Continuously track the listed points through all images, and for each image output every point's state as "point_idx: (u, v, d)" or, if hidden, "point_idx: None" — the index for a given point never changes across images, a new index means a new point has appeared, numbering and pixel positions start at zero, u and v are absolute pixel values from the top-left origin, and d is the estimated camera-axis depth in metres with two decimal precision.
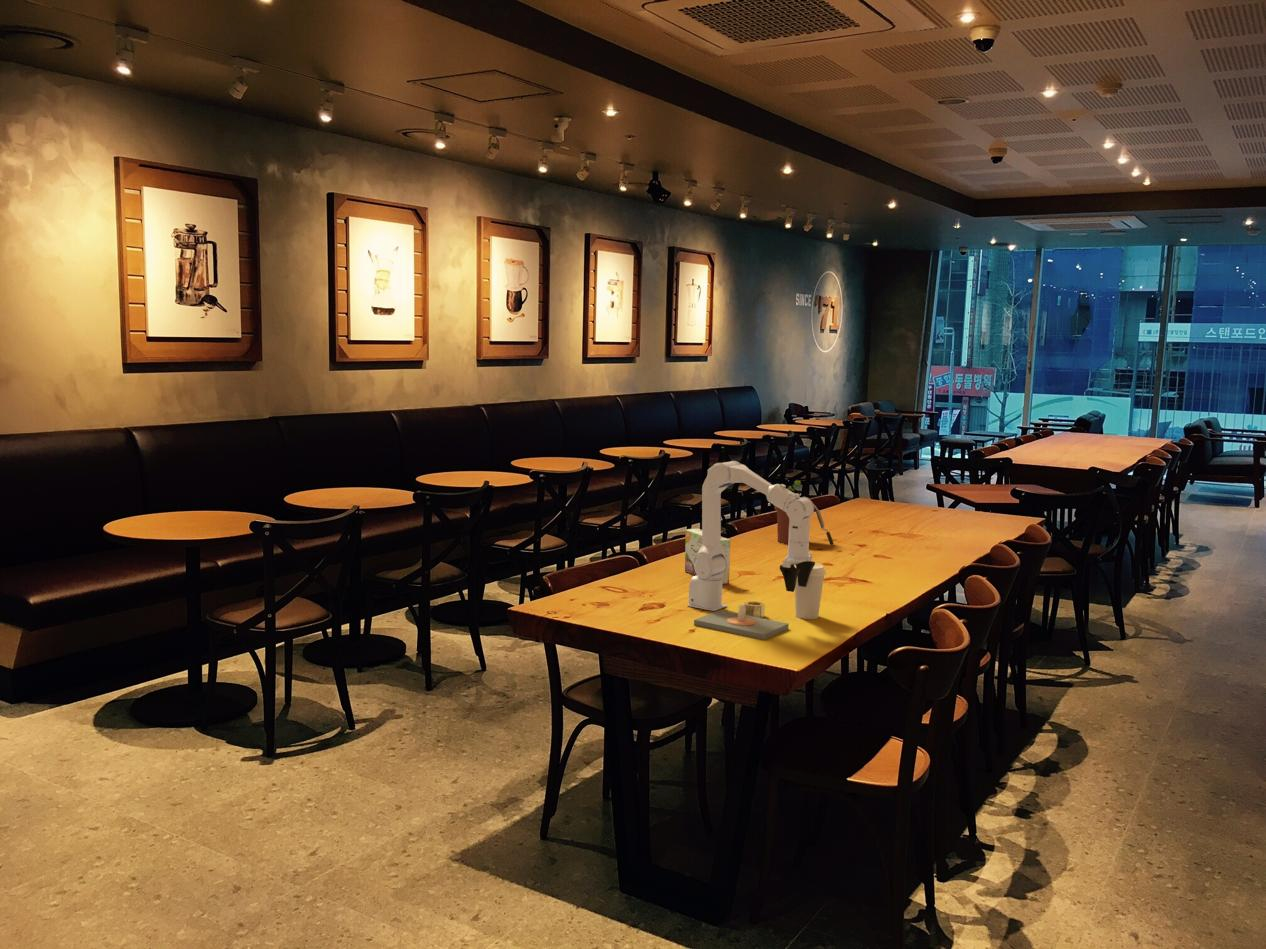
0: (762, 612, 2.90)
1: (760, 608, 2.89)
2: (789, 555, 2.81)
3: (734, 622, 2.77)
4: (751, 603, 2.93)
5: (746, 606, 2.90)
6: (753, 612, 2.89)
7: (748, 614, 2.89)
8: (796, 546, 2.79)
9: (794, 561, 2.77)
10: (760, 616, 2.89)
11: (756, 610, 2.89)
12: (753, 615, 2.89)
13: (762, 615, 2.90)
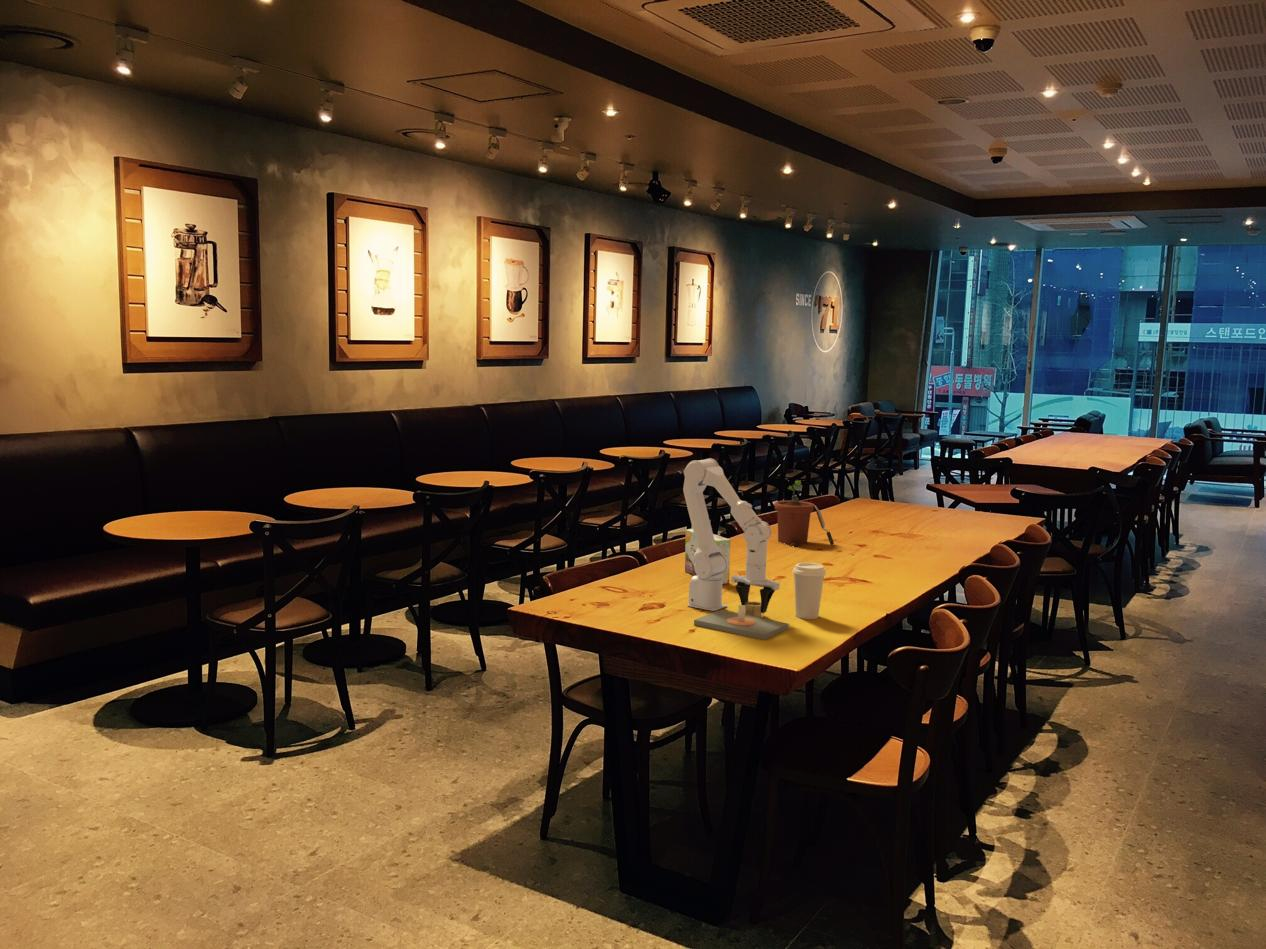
0: None
1: (760, 608, 2.89)
2: None
3: (734, 622, 2.77)
4: (751, 603, 2.93)
5: (746, 606, 2.90)
6: (753, 612, 2.89)
7: (748, 614, 2.89)
8: None
9: (737, 578, 2.92)
10: (760, 616, 2.89)
11: (756, 610, 2.89)
12: (753, 615, 2.89)
13: (762, 615, 2.90)
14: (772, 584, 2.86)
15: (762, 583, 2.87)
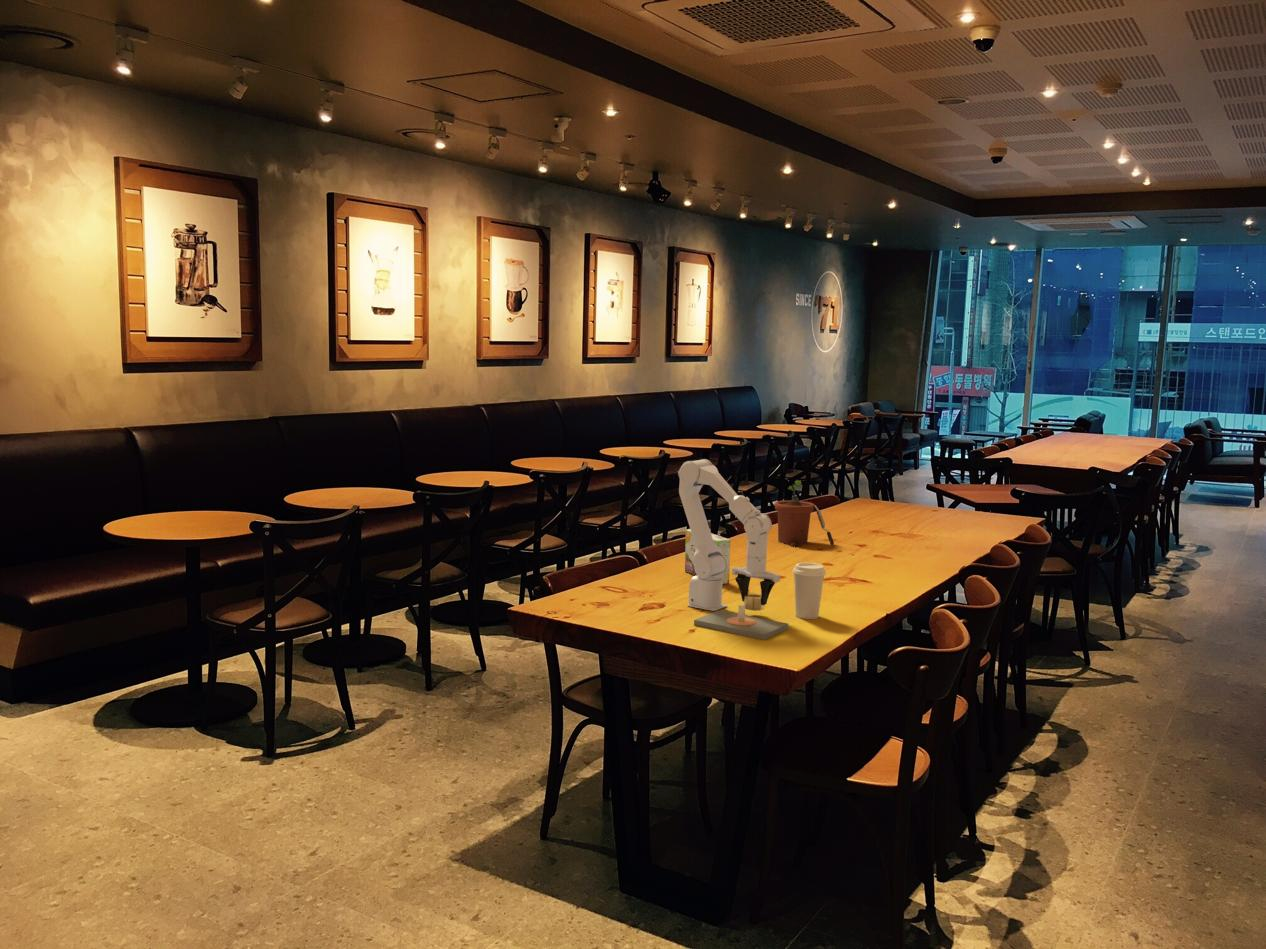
0: None
1: (760, 600, 2.88)
2: None
3: (734, 622, 2.77)
4: (751, 595, 2.93)
5: (746, 598, 2.90)
6: (753, 604, 2.88)
7: (748, 606, 2.89)
8: None
9: (738, 570, 2.92)
10: (760, 608, 2.89)
11: (756, 602, 2.88)
12: (753, 607, 2.88)
13: (762, 607, 2.90)
14: (772, 576, 2.86)
15: (762, 575, 2.87)
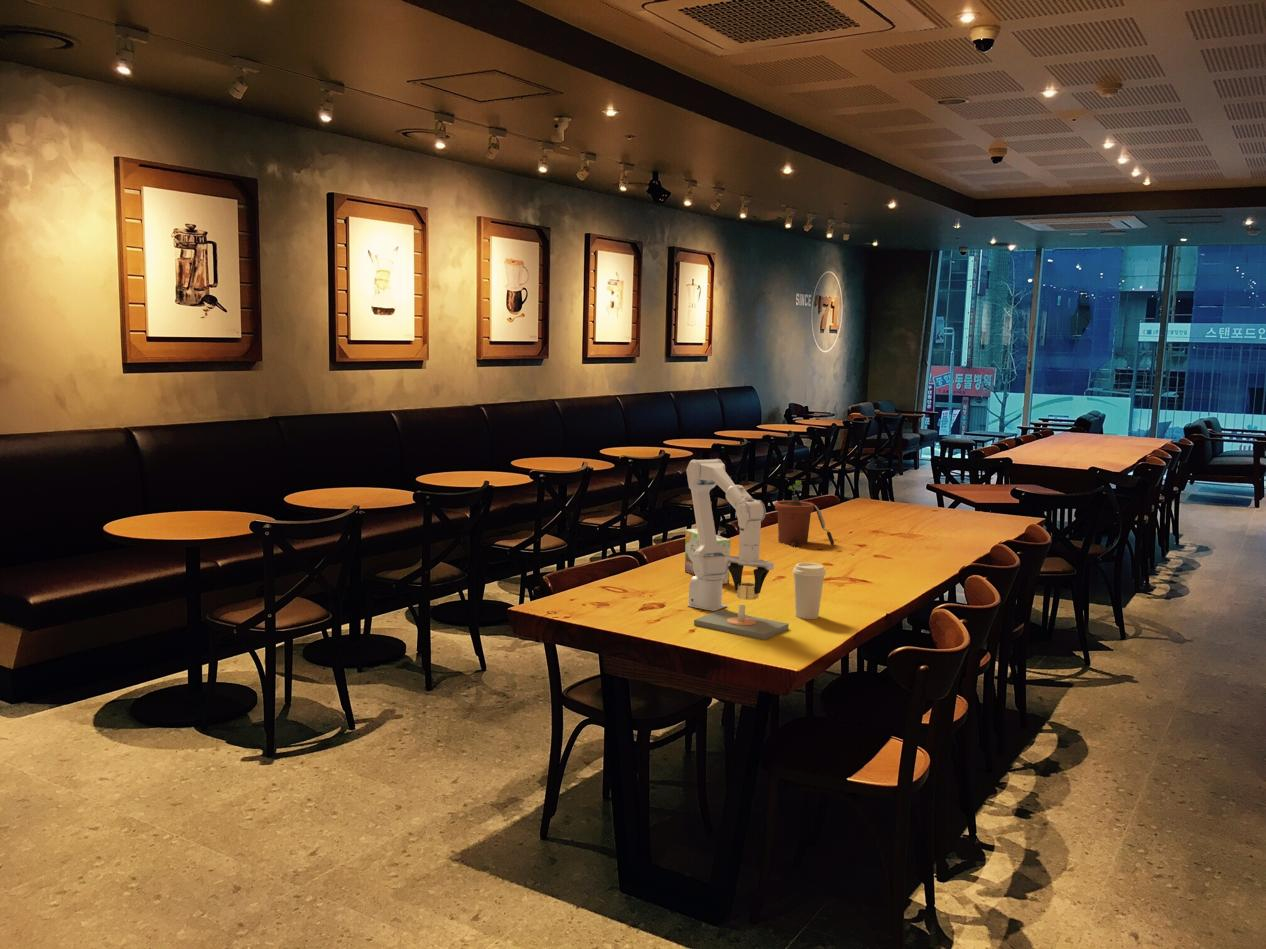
0: None
1: (754, 589, 2.80)
2: None
3: (734, 622, 2.77)
4: (745, 584, 2.84)
5: (739, 587, 2.81)
6: (747, 593, 2.80)
7: (742, 595, 2.81)
8: None
9: (730, 559, 2.83)
10: (754, 597, 2.80)
11: (750, 591, 2.80)
12: (747, 596, 2.80)
13: (756, 596, 2.81)
14: (766, 564, 2.77)
15: (756, 563, 2.78)
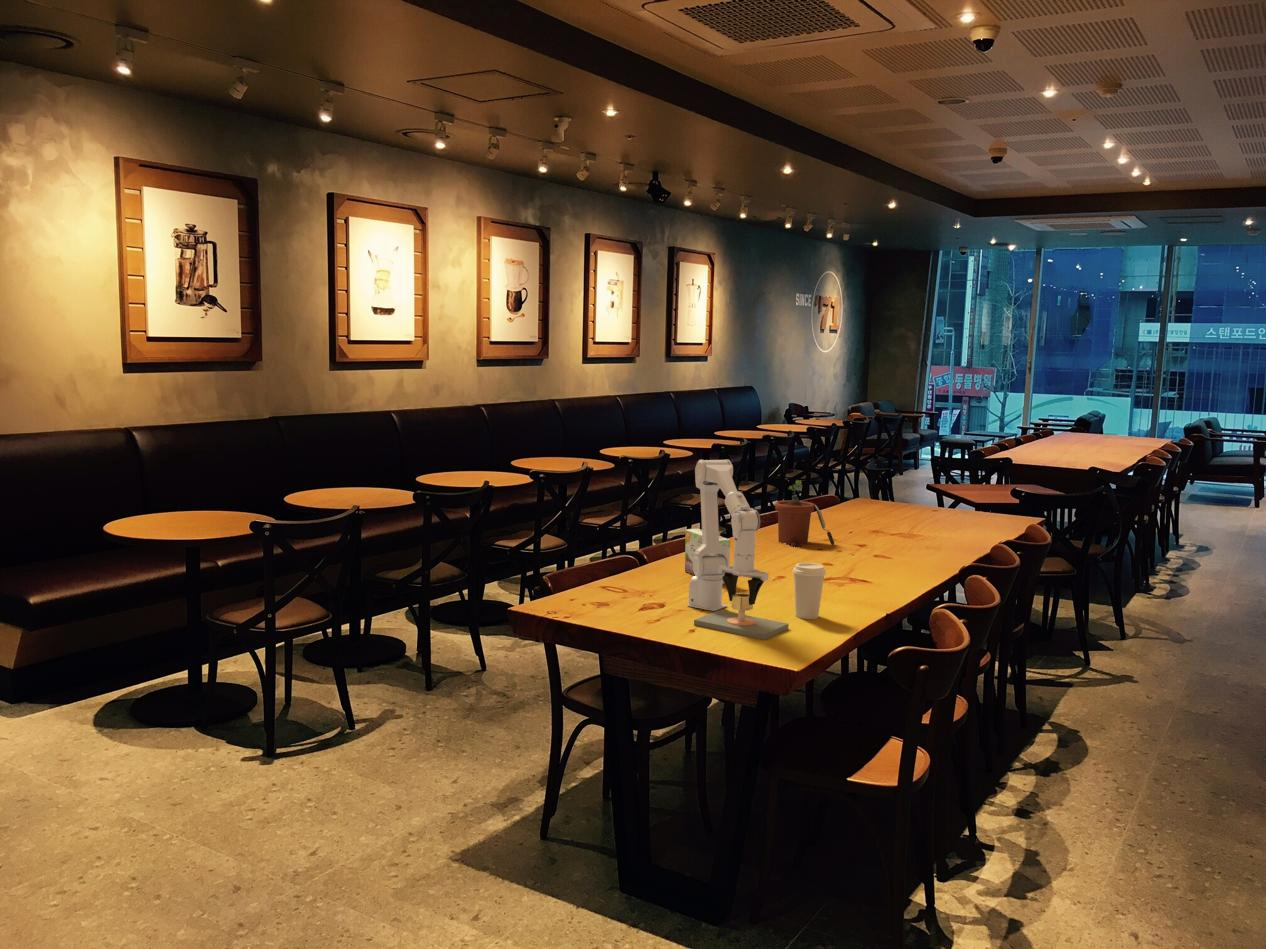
0: None
1: (748, 600, 2.76)
2: None
3: (734, 622, 2.77)
4: (739, 595, 2.80)
5: (734, 598, 2.77)
6: (741, 604, 2.76)
7: (736, 606, 2.77)
8: None
9: (725, 569, 2.79)
10: (748, 608, 2.76)
11: (744, 601, 2.76)
12: (741, 607, 2.76)
13: (750, 607, 2.77)
14: (761, 575, 2.73)
15: (750, 574, 2.74)
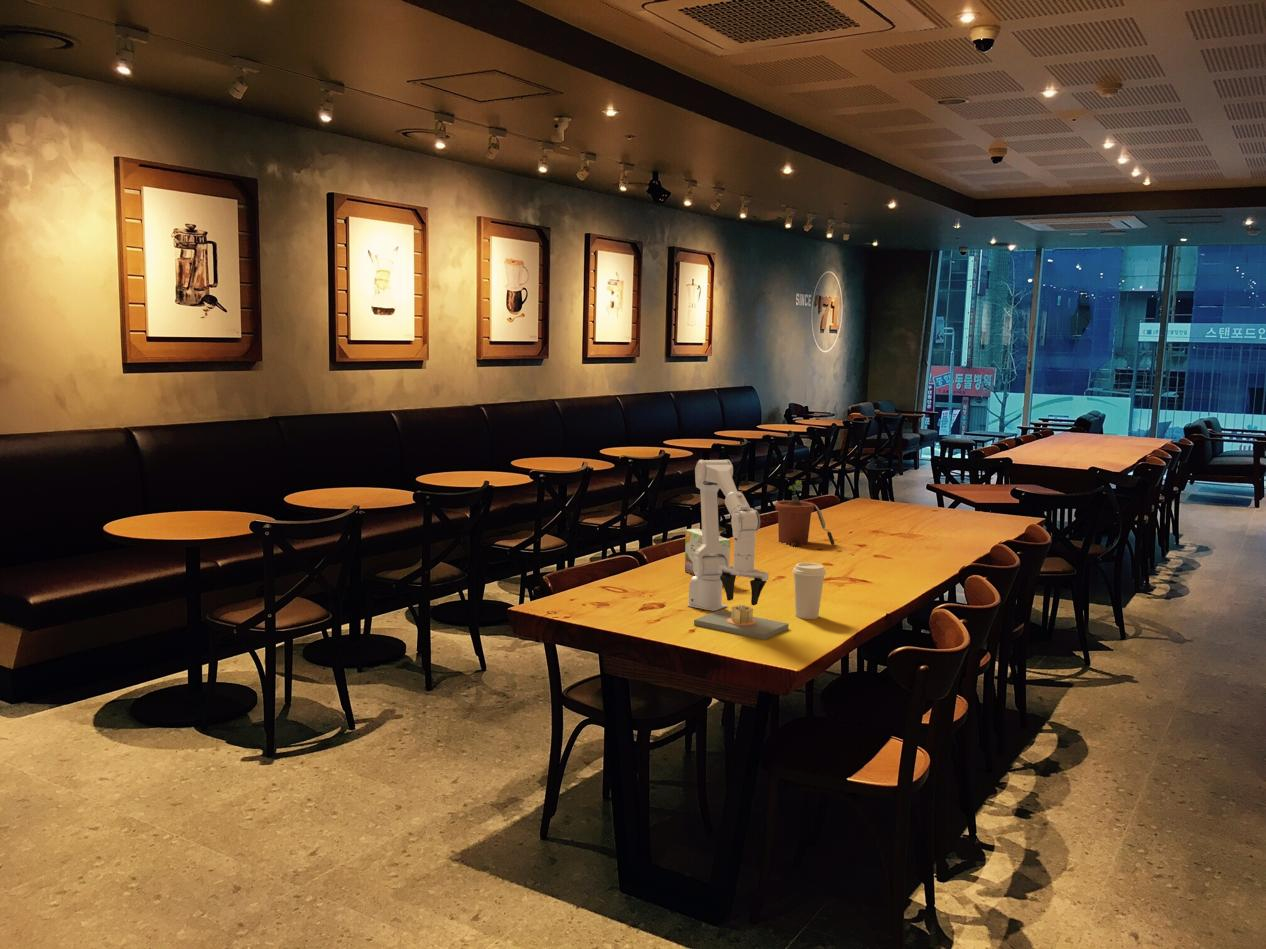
0: (750, 617, 2.77)
1: (748, 613, 2.76)
2: None
3: None
4: None
5: (733, 611, 2.77)
6: (741, 617, 2.76)
7: (735, 619, 2.77)
8: None
9: (725, 569, 2.79)
10: (748, 621, 2.77)
11: (744, 615, 2.76)
12: (741, 620, 2.76)
13: (750, 620, 2.77)
14: (761, 575, 2.73)
15: (750, 574, 2.74)
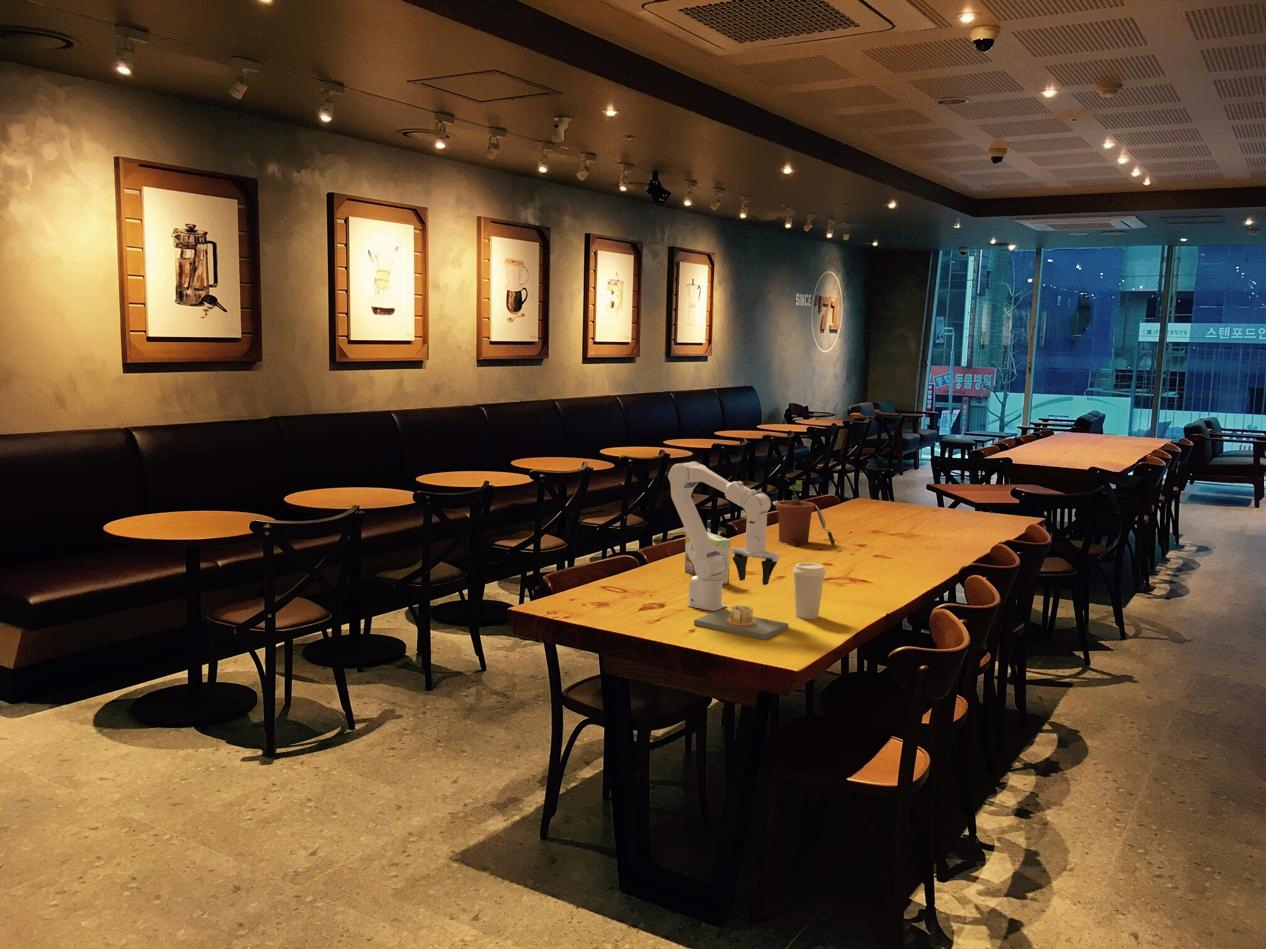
0: (750, 617, 2.77)
1: (748, 613, 2.76)
2: None
3: None
4: None
5: (733, 611, 2.77)
6: (741, 617, 2.76)
7: (735, 619, 2.77)
8: None
9: (737, 550, 2.91)
10: (748, 621, 2.77)
11: (744, 615, 2.76)
12: (741, 620, 2.76)
13: (750, 620, 2.77)
14: (771, 555, 2.85)
15: (761, 554, 2.86)
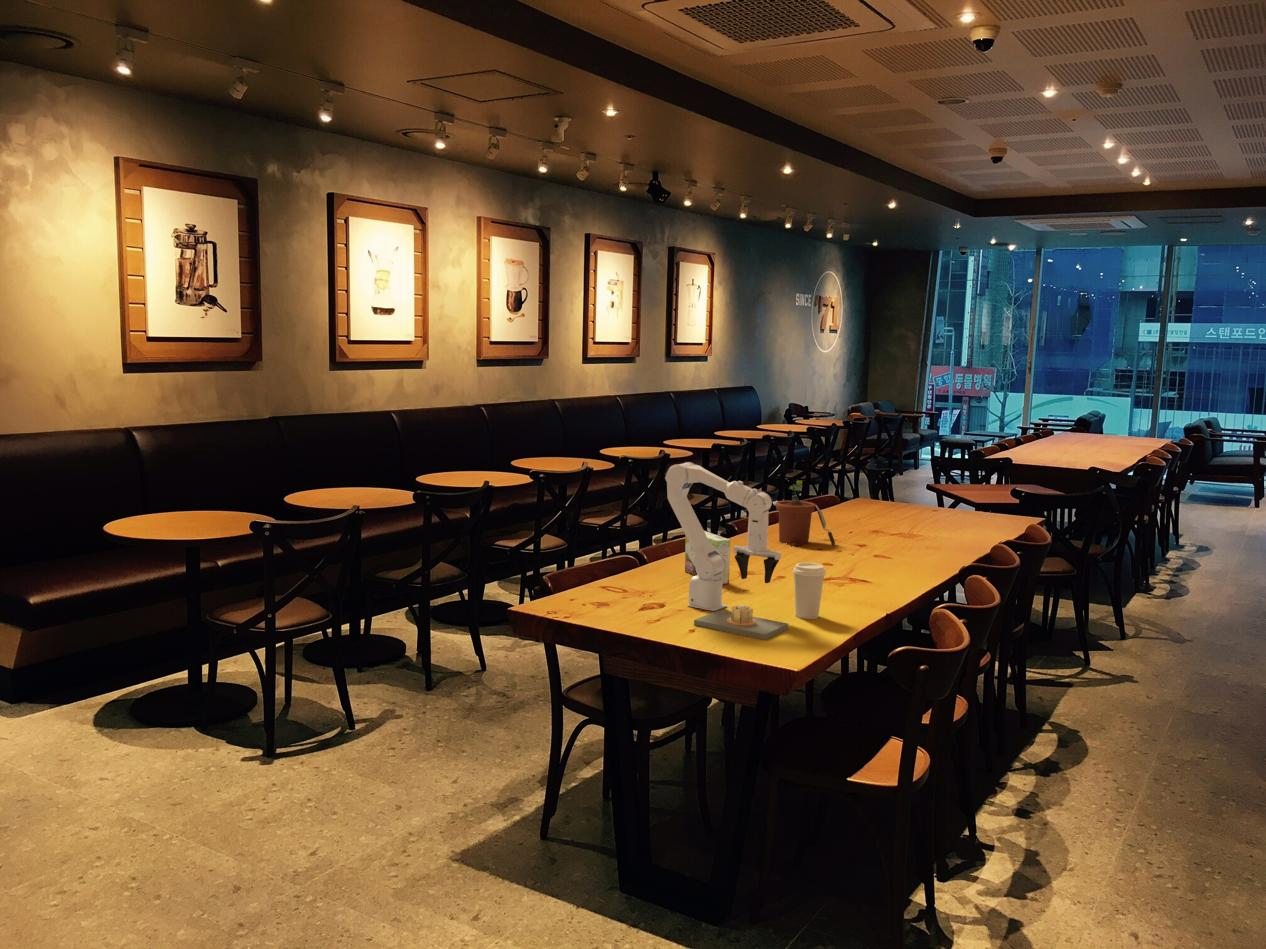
0: (750, 617, 2.77)
1: (748, 613, 2.76)
2: None
3: None
4: None
5: (733, 611, 2.77)
6: (741, 617, 2.76)
7: (735, 619, 2.77)
8: None
9: (739, 549, 2.93)
10: (748, 621, 2.77)
11: (744, 615, 2.76)
12: (741, 620, 2.76)
13: (750, 620, 2.77)
14: (773, 554, 2.87)
15: (764, 553, 2.88)
